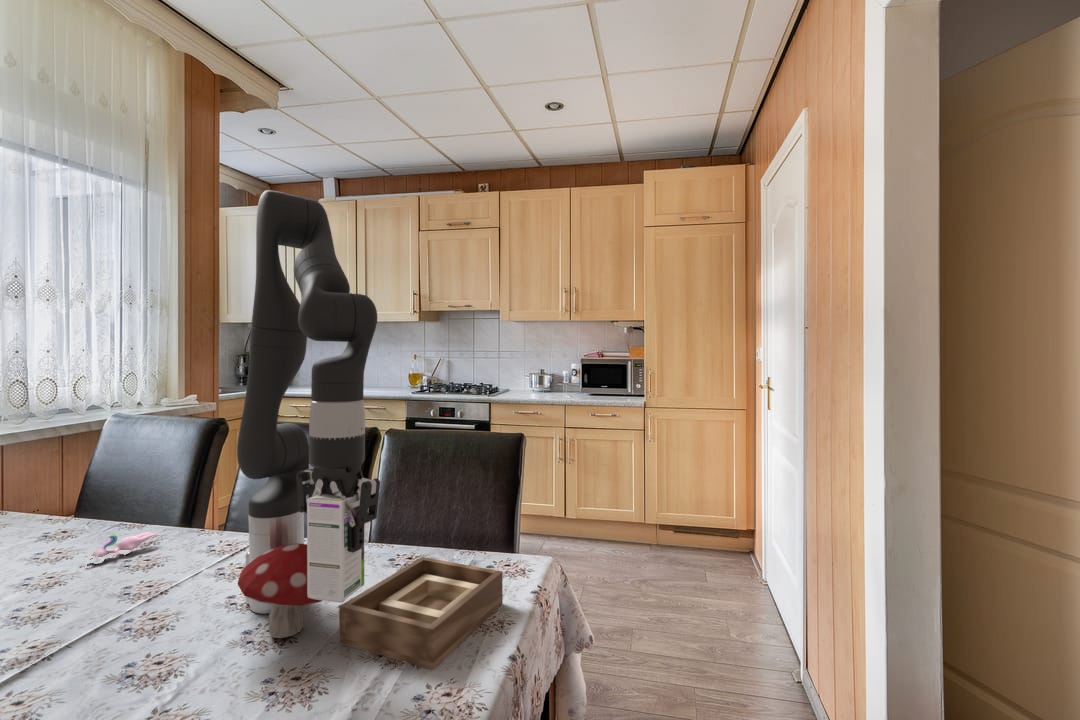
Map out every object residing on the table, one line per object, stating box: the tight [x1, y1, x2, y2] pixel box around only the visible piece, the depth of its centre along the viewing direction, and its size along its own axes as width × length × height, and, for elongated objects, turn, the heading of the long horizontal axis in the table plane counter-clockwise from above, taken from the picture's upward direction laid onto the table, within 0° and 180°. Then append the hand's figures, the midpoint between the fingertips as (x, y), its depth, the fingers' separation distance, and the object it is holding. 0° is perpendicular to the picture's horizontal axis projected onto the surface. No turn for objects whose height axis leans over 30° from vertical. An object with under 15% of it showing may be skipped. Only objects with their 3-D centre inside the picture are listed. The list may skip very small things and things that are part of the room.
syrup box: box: [306, 494, 365, 604], centre depth 76 cm, size 6×6×14 cm
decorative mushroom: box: [237, 543, 323, 639], centre depth 87 cm, size 16×16×15 cm
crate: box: [338, 556, 503, 671], centre depth 91 cm, size 18×22×6 cm
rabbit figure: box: [84, 531, 160, 560], centre depth 121 cm, size 6×6×15 cm
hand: (336, 546), depth 76 cm, fingers closed on syrup box, 6 cm apart
